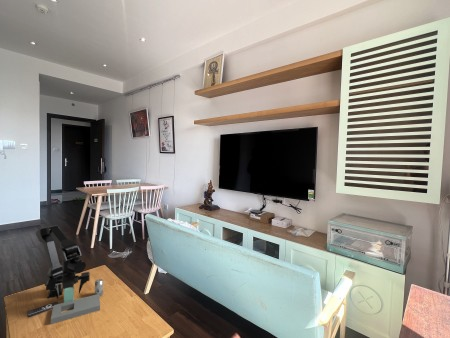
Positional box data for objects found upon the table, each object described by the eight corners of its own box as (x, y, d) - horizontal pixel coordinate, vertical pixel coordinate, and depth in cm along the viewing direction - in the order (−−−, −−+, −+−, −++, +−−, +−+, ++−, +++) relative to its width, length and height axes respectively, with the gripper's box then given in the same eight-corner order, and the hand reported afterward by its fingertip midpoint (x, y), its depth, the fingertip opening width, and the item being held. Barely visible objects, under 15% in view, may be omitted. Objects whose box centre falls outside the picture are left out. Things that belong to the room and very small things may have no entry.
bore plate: (53, 310, 111) (53, 305, 111) (99, 298, 121) (99, 293, 121) (50, 324, 101) (50, 319, 101) (100, 310, 112) (100, 305, 112)
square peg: (64, 300, 118) (64, 286, 118) (73, 298, 120) (73, 284, 120) (63, 305, 115) (64, 290, 114) (73, 302, 117) (73, 288, 116)
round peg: (94, 293, 125) (94, 280, 125) (102, 291, 127) (102, 278, 127) (94, 297, 122) (95, 283, 121) (103, 295, 124) (103, 281, 123)
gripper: (44, 279, 105) (43, 310, 105) (89, 270, 115) (89, 298, 115) (47, 268, 114) (47, 297, 115) (89, 261, 124) (89, 287, 125)
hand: (68, 295), depth 117 cm, fingers open, 9 cm apart
